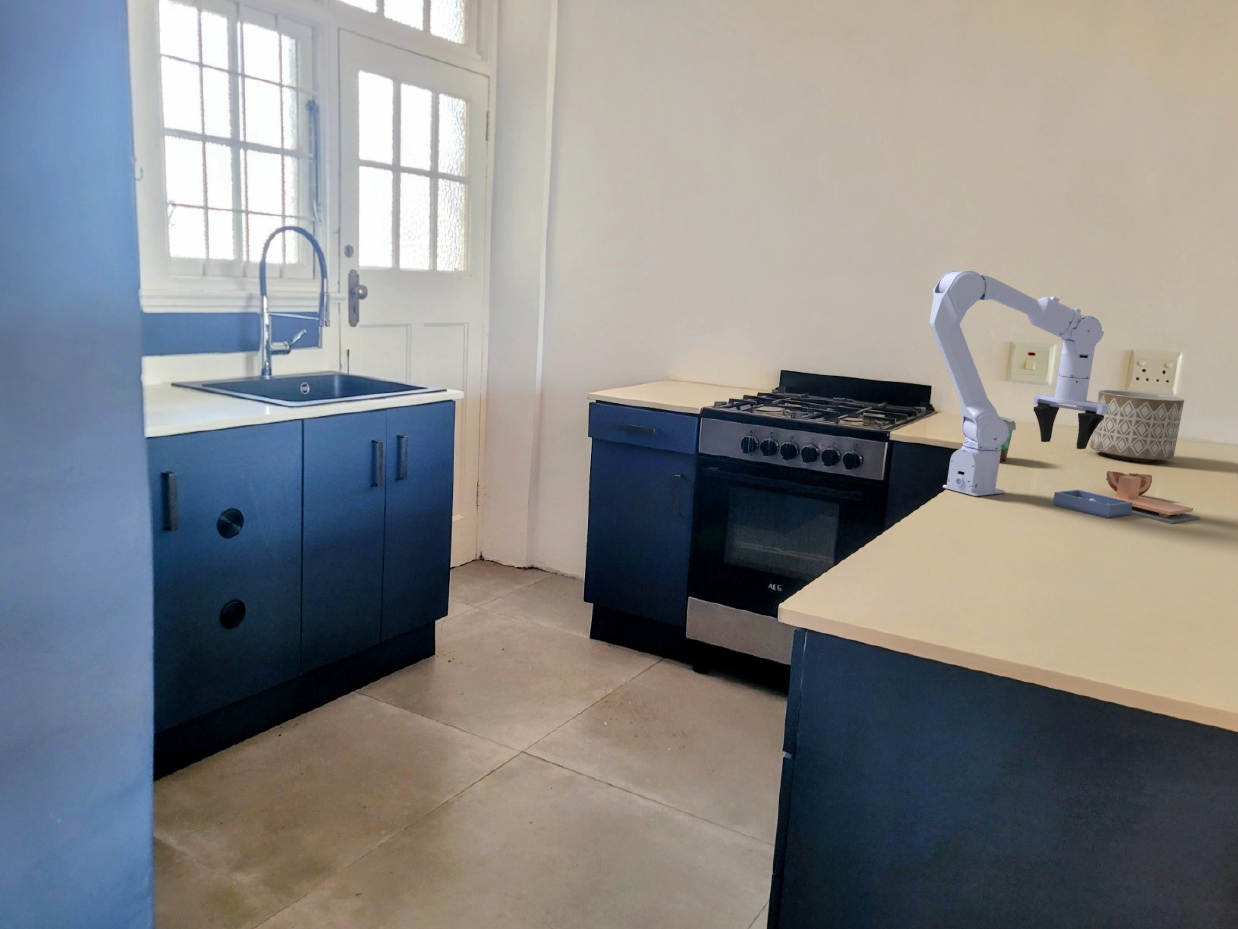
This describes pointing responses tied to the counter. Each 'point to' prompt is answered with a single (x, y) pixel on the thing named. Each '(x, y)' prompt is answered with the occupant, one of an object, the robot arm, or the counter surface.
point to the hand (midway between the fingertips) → (1062, 445)
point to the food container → (1005, 446)
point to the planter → (1138, 425)
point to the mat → (1170, 519)
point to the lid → (1130, 492)
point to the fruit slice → (1145, 479)
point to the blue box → (1092, 503)
